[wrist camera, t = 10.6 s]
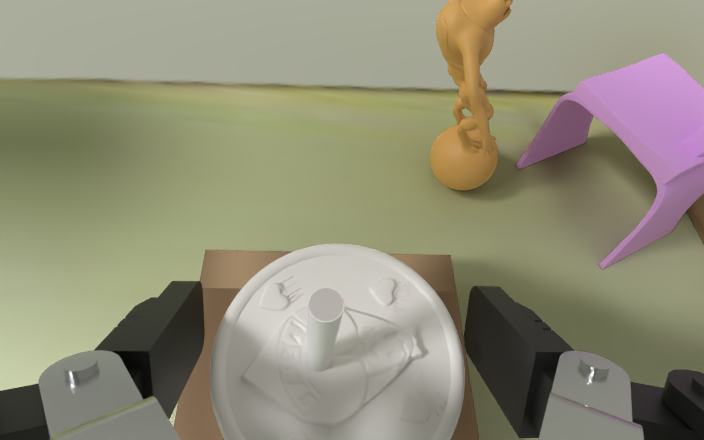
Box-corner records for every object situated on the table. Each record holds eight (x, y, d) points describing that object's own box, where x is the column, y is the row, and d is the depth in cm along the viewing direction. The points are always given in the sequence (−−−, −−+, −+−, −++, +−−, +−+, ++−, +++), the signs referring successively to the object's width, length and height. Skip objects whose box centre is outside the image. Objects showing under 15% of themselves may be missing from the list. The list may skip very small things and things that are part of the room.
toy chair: (587, 130, 29) (806, -123, 16) (681, 226, 26) (1056, -1, 13) (498, 164, 27) (674, -101, 14) (589, 276, 23) (938, 58, 10)
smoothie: (247, 342, 19) (146, 155, 7) (377, 318, 20) (479, 123, 8) (261, 502, 16) (124, 652, 4) (412, 462, 17) (654, 488, 5)
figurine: (494, 234, 24) (635, 70, 14) (395, 231, 24) (464, 58, 13) (472, 129, 28) (567, -57, 18) (387, 125, 28) (435, -70, 17)
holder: (182, 551, 16) (146, 580, 12) (222, 282, 21) (205, 249, 18) (458, 539, 17) (498, 562, 13) (428, 286, 22) (450, 255, 19)
